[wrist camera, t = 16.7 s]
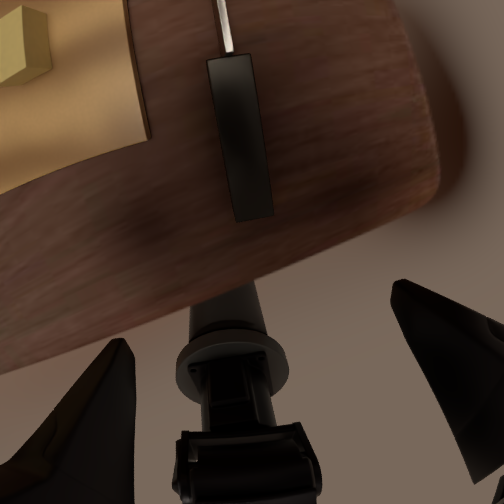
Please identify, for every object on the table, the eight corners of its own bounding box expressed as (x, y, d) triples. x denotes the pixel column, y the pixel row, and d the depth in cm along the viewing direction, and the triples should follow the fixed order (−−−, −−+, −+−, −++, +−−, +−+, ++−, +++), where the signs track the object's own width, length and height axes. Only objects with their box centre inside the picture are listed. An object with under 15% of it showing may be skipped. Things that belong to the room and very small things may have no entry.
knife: (266, 201, 19) (279, 224, 16) (232, 208, 19) (238, 232, 16) (220, -72, 9) (224, -100, 6) (184, -67, 9) (180, -94, 6)
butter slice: (52, 68, 12) (26, 67, 9) (20, 85, 12) (-8, 88, 9) (46, 13, 10) (21, 4, 7) (14, 32, 10) (-13, 27, 7)
